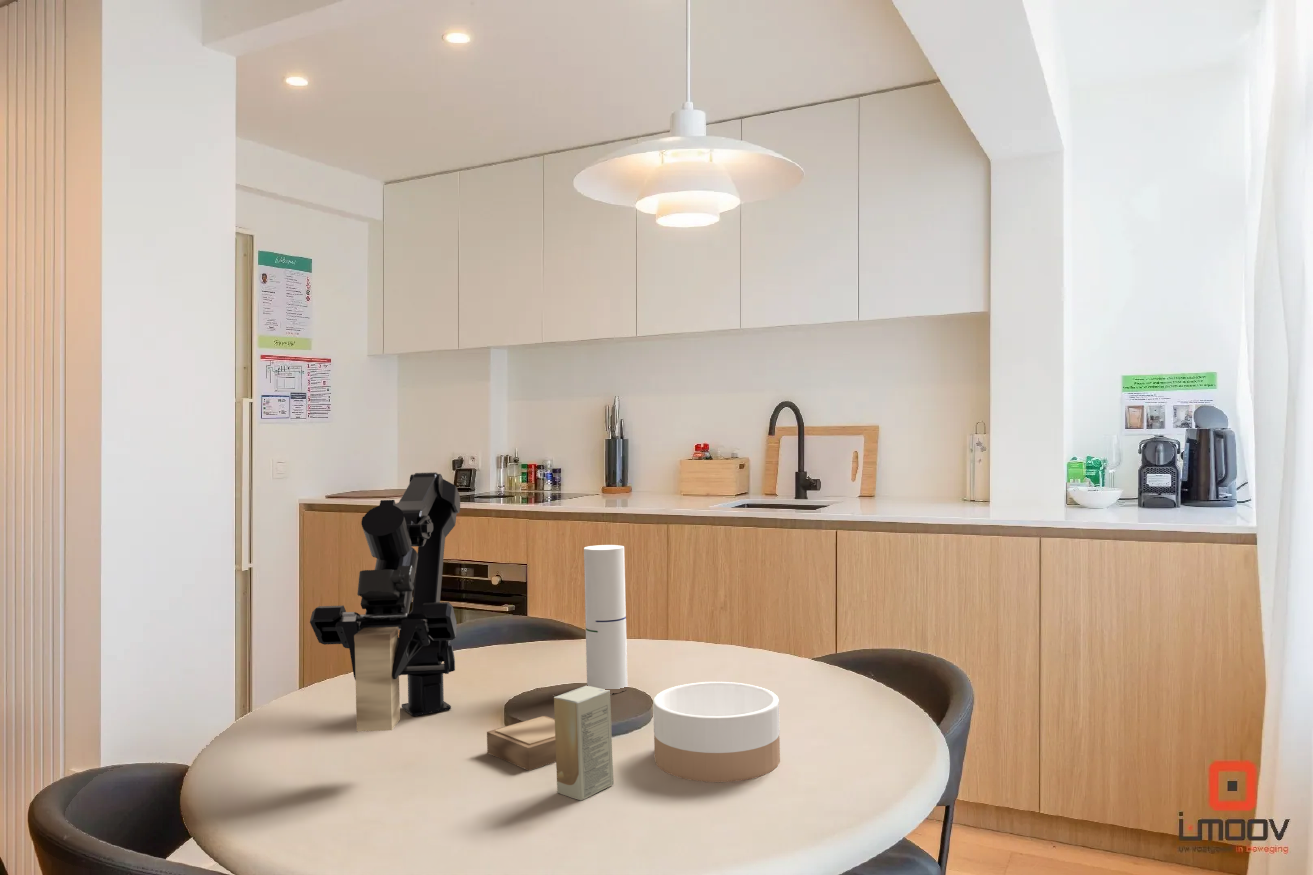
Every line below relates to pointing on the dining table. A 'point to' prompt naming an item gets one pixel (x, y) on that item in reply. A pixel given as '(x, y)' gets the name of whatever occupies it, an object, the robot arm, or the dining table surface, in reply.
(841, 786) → the dining table surface
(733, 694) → the bowl
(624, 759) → the dining table surface
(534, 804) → the dining table surface
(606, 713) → the skincare box
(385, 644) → the oak block
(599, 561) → the cylindrical container
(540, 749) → the plinth
